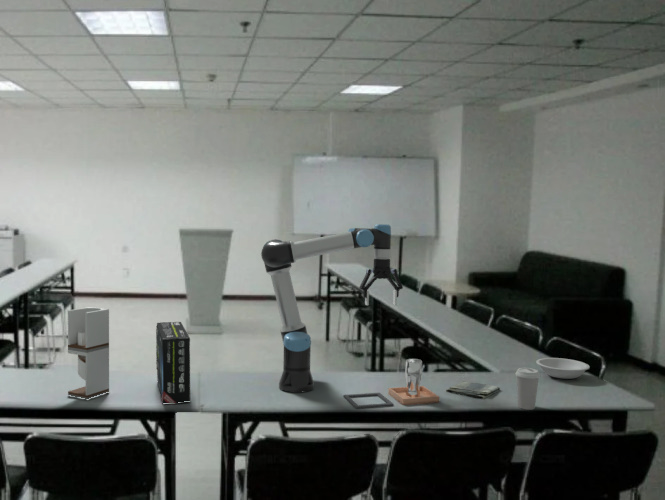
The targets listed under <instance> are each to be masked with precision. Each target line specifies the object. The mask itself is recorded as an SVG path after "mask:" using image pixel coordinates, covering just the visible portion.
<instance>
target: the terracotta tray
mask: <svg viewBox="0 0 665 500" xmlns="http://www.w3.org/2000/svg"><path fill="white" fill-rule="evenodd" d="M406 391H407V386H402V387H388V391H387V394H388V396H391V398H393V399H394V400H395V401H397V402H398V403H399V404H400V405H402V406H410V405H411V406H412V405H424V404H438V403H440V395H437V393H435V392H433V391H432V390H430V389H429V388H427V387H425V386H424V385H420V397H418V398H408V397H406Z"/></svg>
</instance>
